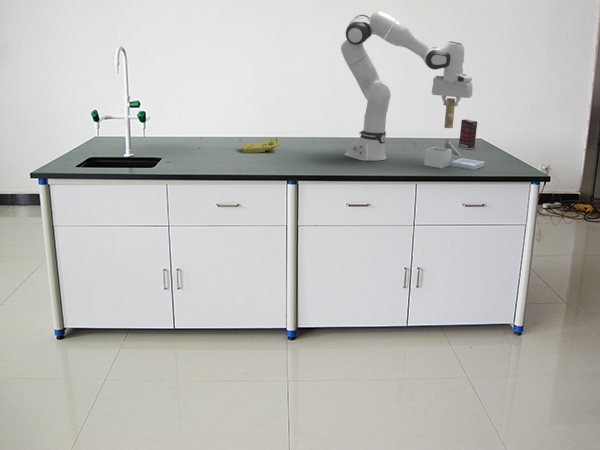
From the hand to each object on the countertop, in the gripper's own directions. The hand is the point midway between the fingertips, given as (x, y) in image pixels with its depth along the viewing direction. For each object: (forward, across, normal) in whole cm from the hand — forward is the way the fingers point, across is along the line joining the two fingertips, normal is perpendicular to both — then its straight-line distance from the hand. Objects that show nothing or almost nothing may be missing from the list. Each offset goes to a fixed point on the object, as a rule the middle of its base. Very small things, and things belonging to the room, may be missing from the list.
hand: (450, 105), depth 295 cm
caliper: (+31, -14, +33) cm, 47 cm away
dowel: (+11, 0, 0) cm, 11 cm away
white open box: (+30, -3, -2) cm, 30 cm away
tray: (+30, +9, +7) cm, 32 cm away
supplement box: (+31, -14, +50) cm, 60 cm away
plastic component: (+28, -87, -46) cm, 102 cm away
